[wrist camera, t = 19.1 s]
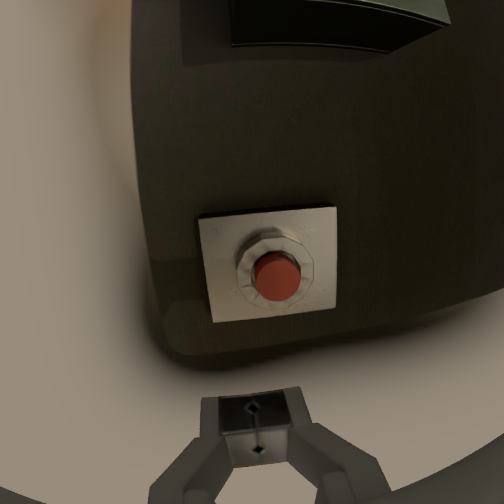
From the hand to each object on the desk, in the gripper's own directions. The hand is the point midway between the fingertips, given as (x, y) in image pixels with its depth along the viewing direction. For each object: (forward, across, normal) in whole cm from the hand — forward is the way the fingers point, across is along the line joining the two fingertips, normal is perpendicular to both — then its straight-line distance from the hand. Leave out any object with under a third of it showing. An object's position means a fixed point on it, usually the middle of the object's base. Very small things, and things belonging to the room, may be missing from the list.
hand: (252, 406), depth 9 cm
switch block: (+21, -4, +3) cm, 21 cm away
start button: (+17, -3, +3) cm, 18 cm away
